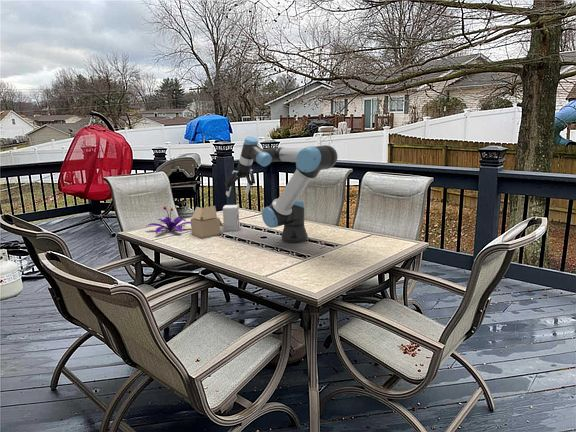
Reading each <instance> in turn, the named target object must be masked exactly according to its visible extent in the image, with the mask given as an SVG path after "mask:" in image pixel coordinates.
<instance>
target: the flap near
mask: <svg viewBox="0 0 576 432" xmlns="http://www.w3.org/2000/svg"><path fill="white" fill-rule="evenodd" d="M200 208H201V210H202V216H203V220H206V219H211V218H216V217H218V215H217V209H216V205H211V206H206V207H200Z"/></svg>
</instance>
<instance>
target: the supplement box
mask: <svg viewBox="0 0 576 432" xmlns="http://www.w3.org/2000/svg"><path fill="white" fill-rule="evenodd" d="M239 210H240V209H239V204H225V205H223V207H222V220H223V221H222V224H223V225H224V227H223V232H237V231H238V230H239V229H240V211H239Z"/></svg>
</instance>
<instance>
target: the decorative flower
mask: <svg viewBox="0 0 576 432" xmlns="http://www.w3.org/2000/svg"><path fill="white" fill-rule="evenodd" d="M163 210H164V211H166V212H167V216H165V218H163V219H162V218H157V219H156V220H158V221H159V222H160V223H163V224H165V225H166V226H165V225H163V224H159V223H155V222H154V223H153V222H152V223H149V224H147V225H146V226H145V228H147V227H149V226H158V227H157V228H156V229H155V234H159V233H160V231H162V230H163V229H166V230H168V231H169V232H170V231H171V232H172V231H173V230H174V229H176V230H177V231H178V232H180V233H182V232H183V228H182V225H186V224H187V225H188V224H189V225H191V221H187V220H186V219H185V218H181V216H177V217H175V218H174V220H172V211H174V209H173V208H172V207H171V208H170V212H168V210H167V206H163ZM169 213H170V214H169ZM183 221H184V222H183ZM181 222H182V223H181Z"/></svg>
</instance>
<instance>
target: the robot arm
mask: <svg viewBox="0 0 576 432" xmlns="http://www.w3.org/2000/svg"><path fill="white" fill-rule="evenodd" d="M243 141H244V142H243V143H242V148H241V153H240V156H239V161H238V164H237V169H236V170H234V169H232V171H231V173H230V174H229V176H228V177H227V179H226V180H225V181H224V185H225V186H226V187H225V188H226V189H225V195H226V196H227V198H229V197H230V194H231V191H232V186H233V185H234V184H235V182H237V181H238V180H239V179H243V178H246V180H247V183H246V187H245V189H244V193H245V194H246V195H249V192H250V190H251V188H252V186H254V185H255V184H256V181H255V175H254V173H255V171H254V170H253V169H252V165H253V162H254V161H255V162H256V163H257V164H258V165H260V166H261V167H267V166H269V165H270V164H271V163H274V162H275V163H276V162H290V163H295V167H296V169H295V171H294V173H293V174H292V176H291V177H290V179H289V180H288V182H287V184H286V185H285V187H284V188H283V190H282V192H281V193H280V195H279V197H278V198H275V199H273V201H272V202H271V204H270V205H268V206H266V207H263V209H262V212H261V217H262V221H263V223H264V224H265V226H267V227H268V228H269V229H270V228H271V229H272V228H278V227H281V226H283V229H282V233H281V236H280V238H281V239H280V240H281V241H282V242H284V243H289V244H296V243H297V244H298V243H303V242H306V241H308V236H309V235H308V233H307V229H306V227H305V203H304V201H303V200H301V199H300V200H299V197H300V195H301V194H302V193H303V191H304V190H305V188H306V187H307V185H308V184H309V183H310V181H311V179H315V178H317V176H319V174H320V172H321V171H322V170H328V169H331V168H332V167H334V166H335V165H336V164H337V161H338V157H339V156H338V152H337V150H336V149H335V148H334V147H333V146H331V145H328V144H327V145H326V144H324V145H317V146H315V145H314V146H306V147H302V148H301V147H298V148H297V147H281V146H280V147H279V146H278V147H272V148H262V147H260V146H259V140H258V139H257V138H256V137H254V136H246V137H245V138H244V140H243Z"/></svg>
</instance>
